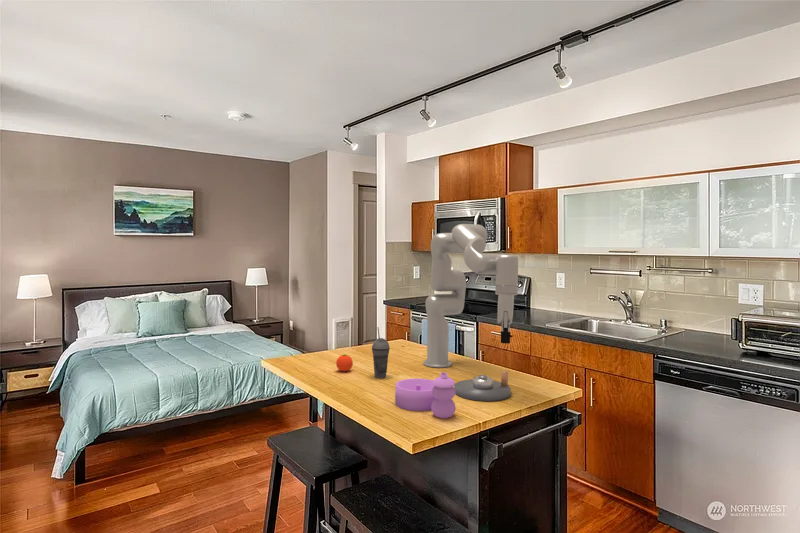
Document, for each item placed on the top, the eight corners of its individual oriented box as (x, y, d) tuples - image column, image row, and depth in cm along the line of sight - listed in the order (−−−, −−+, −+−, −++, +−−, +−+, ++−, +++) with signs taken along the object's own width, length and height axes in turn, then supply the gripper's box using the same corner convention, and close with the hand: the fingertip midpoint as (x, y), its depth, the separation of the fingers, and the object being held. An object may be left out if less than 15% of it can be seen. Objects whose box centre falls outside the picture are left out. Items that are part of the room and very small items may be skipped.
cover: (469, 385, 173) (469, 374, 172) (486, 383, 175) (487, 372, 175) (478, 390, 166) (478, 379, 166) (496, 389, 168) (496, 377, 168)
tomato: (337, 368, 204) (337, 352, 203) (353, 368, 204) (354, 352, 203) (334, 373, 196) (335, 356, 195) (351, 373, 196) (351, 356, 195)
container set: (386, 401, 161) (387, 362, 160) (423, 394, 169) (424, 357, 168) (430, 424, 140) (431, 379, 139) (470, 415, 148) (470, 373, 147)
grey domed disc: (446, 386, 178) (446, 367, 178) (495, 383, 183) (495, 365, 183) (466, 402, 158) (467, 382, 158) (521, 398, 164) (521, 378, 163)
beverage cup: (387, 379, 186) (387, 329, 186) (369, 378, 188) (369, 328, 187) (391, 375, 194) (391, 326, 193) (373, 374, 195) (374, 325, 194)
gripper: (496, 288, 172) (495, 338, 173) (494, 291, 158) (493, 346, 159) (517, 288, 171) (516, 339, 171) (517, 292, 156) (516, 347, 157)
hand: (505, 342), depth 165 cm, fingers closed
